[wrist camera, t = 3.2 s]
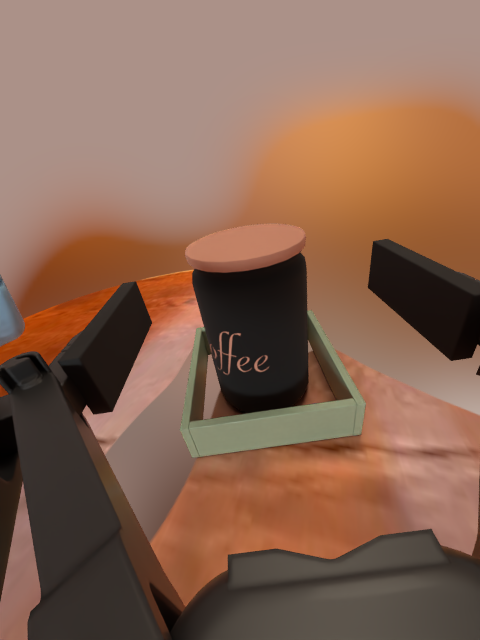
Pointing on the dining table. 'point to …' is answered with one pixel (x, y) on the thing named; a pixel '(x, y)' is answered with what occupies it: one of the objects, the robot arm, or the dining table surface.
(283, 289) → the coffee jar
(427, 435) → the dining table surface
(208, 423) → the tray
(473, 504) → the dining table surface
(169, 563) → the dining table surface
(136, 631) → the robot arm
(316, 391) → the dining table surface
